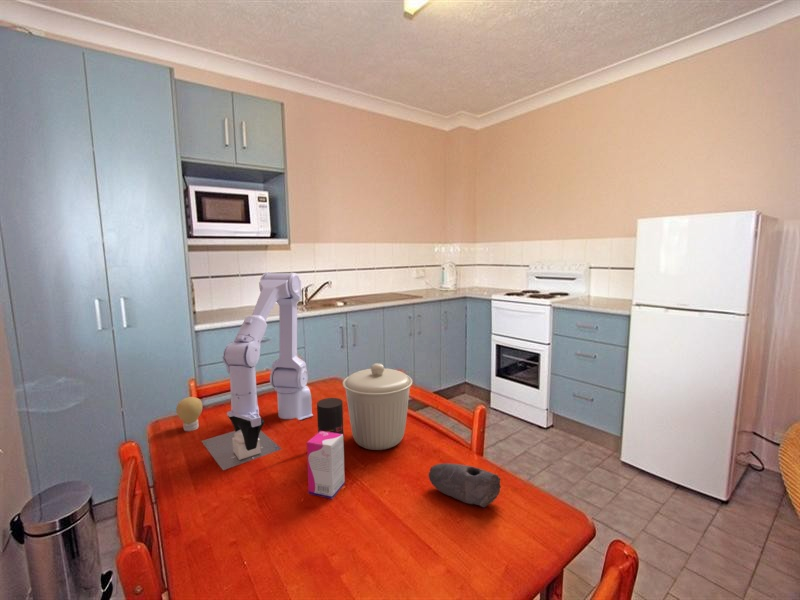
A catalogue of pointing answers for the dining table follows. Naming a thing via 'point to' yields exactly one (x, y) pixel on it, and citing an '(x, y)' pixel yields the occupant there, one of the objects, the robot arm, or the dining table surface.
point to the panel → (224, 452)
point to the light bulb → (189, 412)
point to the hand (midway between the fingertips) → (247, 444)
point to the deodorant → (330, 415)
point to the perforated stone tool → (465, 483)
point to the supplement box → (325, 464)
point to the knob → (243, 446)
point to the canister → (377, 406)
